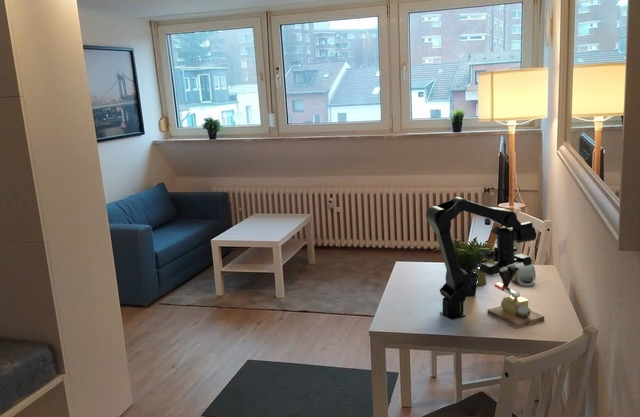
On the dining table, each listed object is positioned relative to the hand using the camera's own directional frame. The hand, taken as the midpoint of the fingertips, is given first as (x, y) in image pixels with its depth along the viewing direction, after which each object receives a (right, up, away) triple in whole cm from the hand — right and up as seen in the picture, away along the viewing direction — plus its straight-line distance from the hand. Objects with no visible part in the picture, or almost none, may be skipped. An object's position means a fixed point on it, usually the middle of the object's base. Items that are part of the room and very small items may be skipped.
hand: (505, 287), depth 205 cm
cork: (-3, -2, +26) cm, 26 cm away
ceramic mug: (+15, -2, +25) cm, 30 cm away
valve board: (+1, -9, -7) cm, 12 cm away
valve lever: (-1, -1, -4) cm, 4 cm away
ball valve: (+1, -8, -7) cm, 11 cm away
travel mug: (+16, +2, +43) cm, 46 cm away
